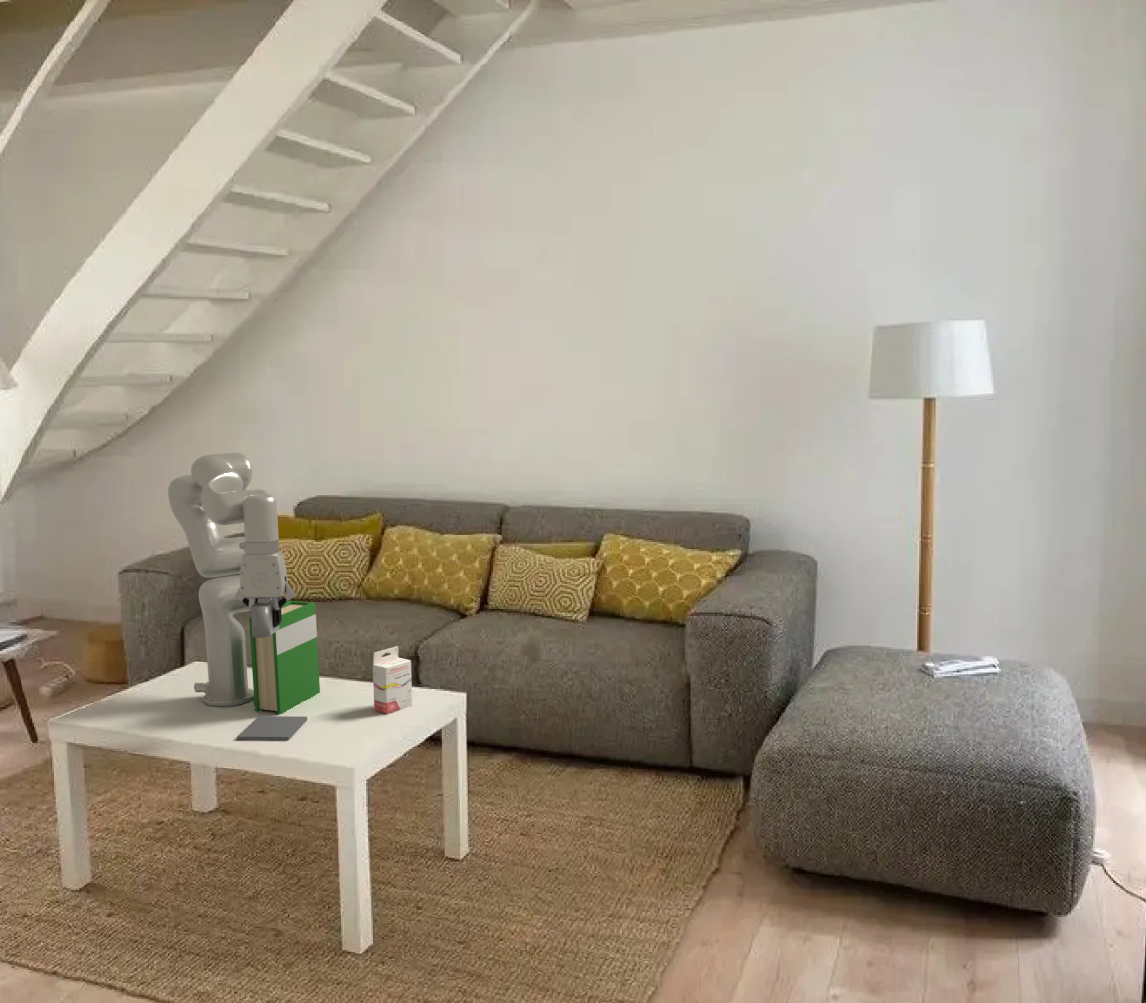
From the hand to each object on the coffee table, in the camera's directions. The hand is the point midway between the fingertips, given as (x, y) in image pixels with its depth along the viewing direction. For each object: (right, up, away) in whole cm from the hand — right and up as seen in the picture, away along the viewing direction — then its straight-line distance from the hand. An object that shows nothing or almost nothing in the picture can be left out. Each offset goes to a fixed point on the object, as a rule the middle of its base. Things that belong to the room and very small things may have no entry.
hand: (266, 624), depth 265 cm
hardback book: (-1, -22, +24) cm, 33 cm away
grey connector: (0, -2, -1) cm, 2 cm away
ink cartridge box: (+27, -23, +17) cm, 39 cm away
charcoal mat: (+1, -25, +4) cm, 25 cm away
